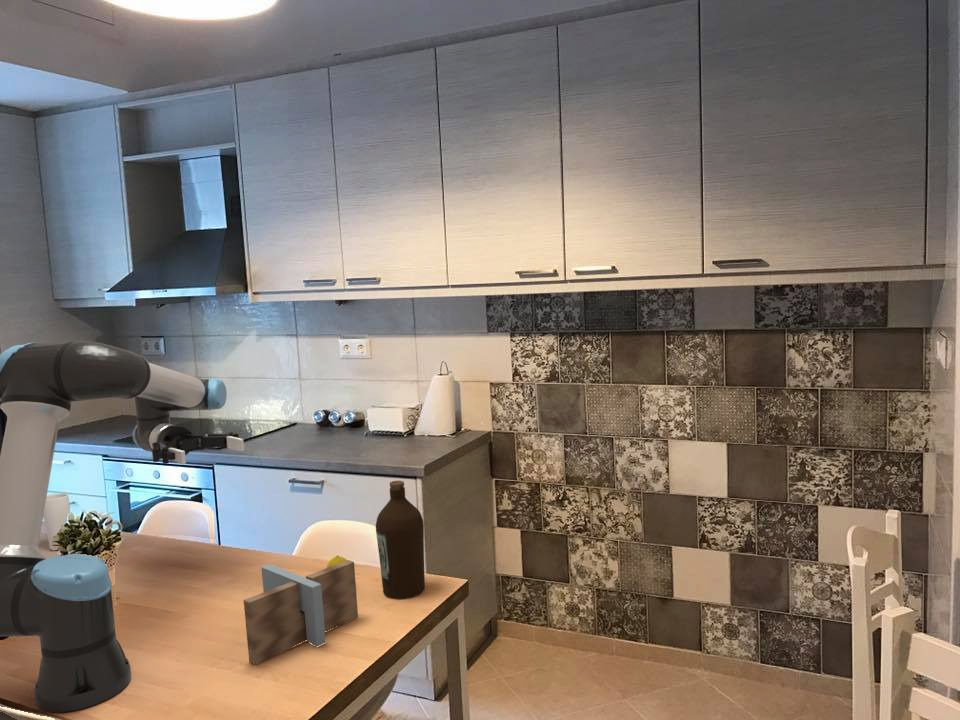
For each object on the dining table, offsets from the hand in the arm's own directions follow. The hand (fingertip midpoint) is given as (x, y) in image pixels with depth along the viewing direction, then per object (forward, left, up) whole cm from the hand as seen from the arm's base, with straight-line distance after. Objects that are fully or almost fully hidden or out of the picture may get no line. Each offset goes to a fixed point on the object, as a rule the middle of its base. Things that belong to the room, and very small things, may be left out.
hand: (213, 451), depth 163 cm
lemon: (+11, -22, -35) cm, 43 cm away
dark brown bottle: (+13, -37, -35) cm, 52 cm away
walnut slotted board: (-12, -27, -34) cm, 46 cm away
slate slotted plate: (-11, -24, -34) cm, 43 cm away
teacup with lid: (+23, +58, -35) cm, 71 cm away
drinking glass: (+23, +73, -35) cm, 84 cm away
